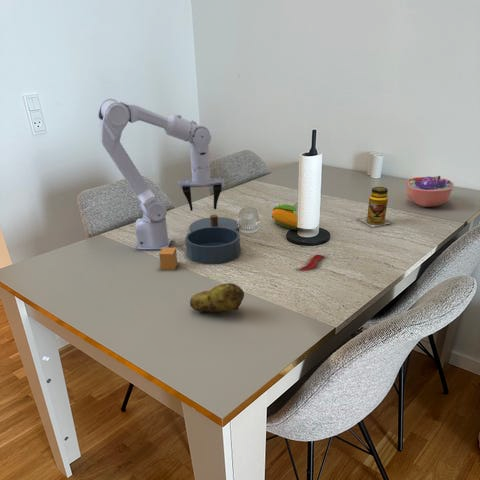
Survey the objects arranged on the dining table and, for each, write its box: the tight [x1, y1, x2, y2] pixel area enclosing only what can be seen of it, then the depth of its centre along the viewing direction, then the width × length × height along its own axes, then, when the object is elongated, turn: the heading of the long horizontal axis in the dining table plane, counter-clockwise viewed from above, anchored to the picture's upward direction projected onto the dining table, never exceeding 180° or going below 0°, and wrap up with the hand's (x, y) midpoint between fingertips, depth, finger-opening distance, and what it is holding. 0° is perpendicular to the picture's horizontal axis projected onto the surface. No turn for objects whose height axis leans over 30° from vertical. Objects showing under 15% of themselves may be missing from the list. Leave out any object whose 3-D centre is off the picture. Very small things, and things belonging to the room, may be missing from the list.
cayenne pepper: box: [298, 254, 325, 271], centre depth 135 cm, size 12×5×2 cm, turn 130°
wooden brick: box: [158, 247, 178, 271], centre depth 136 cm, size 4×5×5 cm
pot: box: [185, 227, 241, 265], centre depth 143 cm, size 16×16×5 cm
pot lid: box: [189, 214, 240, 232], centre depth 161 cm, size 17×17×4 cm
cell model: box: [405, 175, 455, 208], centre depth 176 cm, size 17×20×11 cm
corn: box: [271, 203, 297, 231], centre depth 159 cm, size 7×8×20 cm
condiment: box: [358, 186, 391, 228], centre depth 161 cm, size 7×8×12 cm
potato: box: [189, 282, 245, 313], centre depth 112 cm, size 8×13×8 cm, turn 57°
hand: (203, 209), depth 152 cm, fingers open, 7 cm apart
